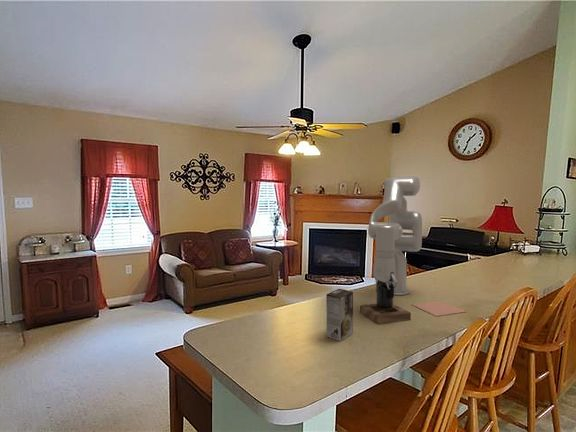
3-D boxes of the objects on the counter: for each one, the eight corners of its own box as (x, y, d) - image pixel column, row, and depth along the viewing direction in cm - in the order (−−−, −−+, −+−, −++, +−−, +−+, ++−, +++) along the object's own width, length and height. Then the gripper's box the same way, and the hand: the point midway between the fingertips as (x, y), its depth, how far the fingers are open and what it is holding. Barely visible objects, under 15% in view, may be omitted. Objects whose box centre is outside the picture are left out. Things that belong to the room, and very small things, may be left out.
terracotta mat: (411, 305, 163) (411, 304, 163) (439, 301, 168) (439, 300, 168) (436, 316, 148) (436, 315, 148) (466, 312, 153) (466, 311, 153)
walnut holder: (359, 312, 154) (359, 305, 154) (389, 308, 159) (389, 301, 158) (378, 324, 140) (378, 316, 139) (410, 319, 144) (410, 312, 144)
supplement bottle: (393, 309, 145) (394, 281, 144) (376, 308, 147) (377, 280, 146) (392, 303, 152) (392, 276, 151) (376, 303, 153) (376, 276, 152)
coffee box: (338, 329, 135) (338, 288, 134) (353, 333, 131) (353, 291, 130) (325, 337, 128) (325, 293, 127) (341, 341, 124) (341, 296, 123)
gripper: (366, 251, 154) (366, 290, 156) (389, 258, 138) (389, 302, 140) (381, 249, 157) (380, 289, 158) (405, 257, 140) (405, 300, 142)
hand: (384, 295), depth 149 cm, fingers closed on supplement bottle, 6 cm apart
